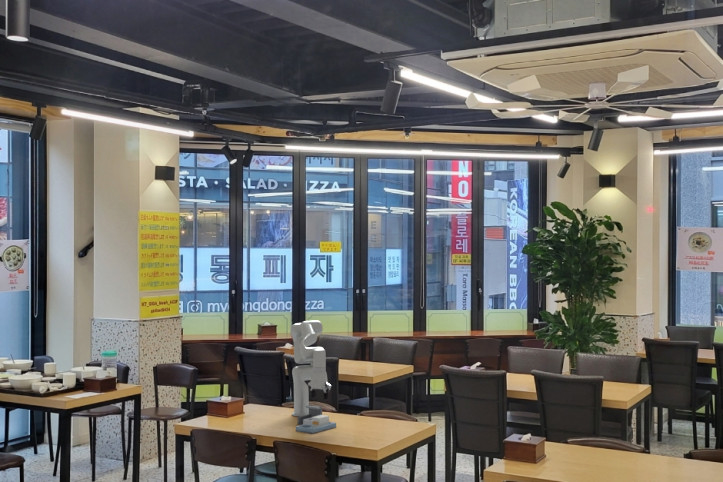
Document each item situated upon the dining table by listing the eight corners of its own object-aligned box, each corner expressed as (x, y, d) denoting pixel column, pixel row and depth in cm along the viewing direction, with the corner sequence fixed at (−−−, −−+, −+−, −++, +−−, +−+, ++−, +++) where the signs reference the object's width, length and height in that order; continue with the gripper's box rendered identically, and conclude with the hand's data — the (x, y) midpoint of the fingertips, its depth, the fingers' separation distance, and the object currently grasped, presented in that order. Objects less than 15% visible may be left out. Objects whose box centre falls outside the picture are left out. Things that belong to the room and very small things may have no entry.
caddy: (321, 424, 486) (321, 414, 486) (329, 425, 482) (329, 415, 483) (303, 429, 473) (303, 419, 473) (311, 430, 469) (311, 420, 469)
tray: (319, 424, 490) (319, 420, 490) (336, 427, 482) (336, 422, 482) (295, 430, 473) (295, 426, 473) (313, 433, 465) (313, 429, 465)
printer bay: (310, 421, 500) (310, 404, 501) (322, 422, 495) (322, 406, 495) (297, 424, 491) (297, 408, 491) (309, 426, 485) (309, 409, 485)
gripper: (304, 369, 483) (304, 397, 483) (326, 371, 473) (326, 400, 473) (312, 367, 489) (312, 395, 489) (334, 370, 479) (334, 398, 479)
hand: (319, 398), depth 481 cm, fingers open, 9 cm apart
